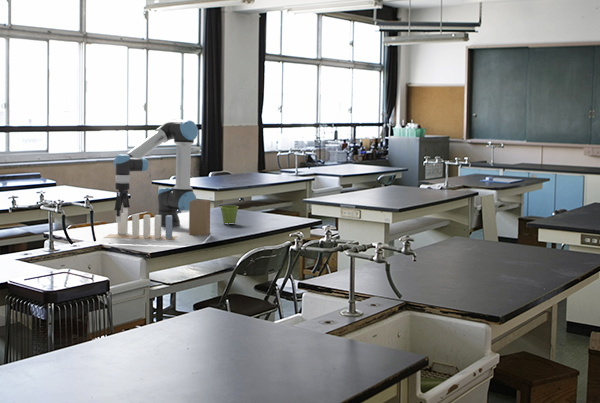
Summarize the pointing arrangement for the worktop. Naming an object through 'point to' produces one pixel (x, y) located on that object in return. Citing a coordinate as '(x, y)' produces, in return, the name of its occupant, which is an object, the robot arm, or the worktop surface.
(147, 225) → the tile
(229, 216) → the plant pot
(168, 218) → the tile
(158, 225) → the tile
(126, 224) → the tile
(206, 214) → the wooden block
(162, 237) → the oak board
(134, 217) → the tile
